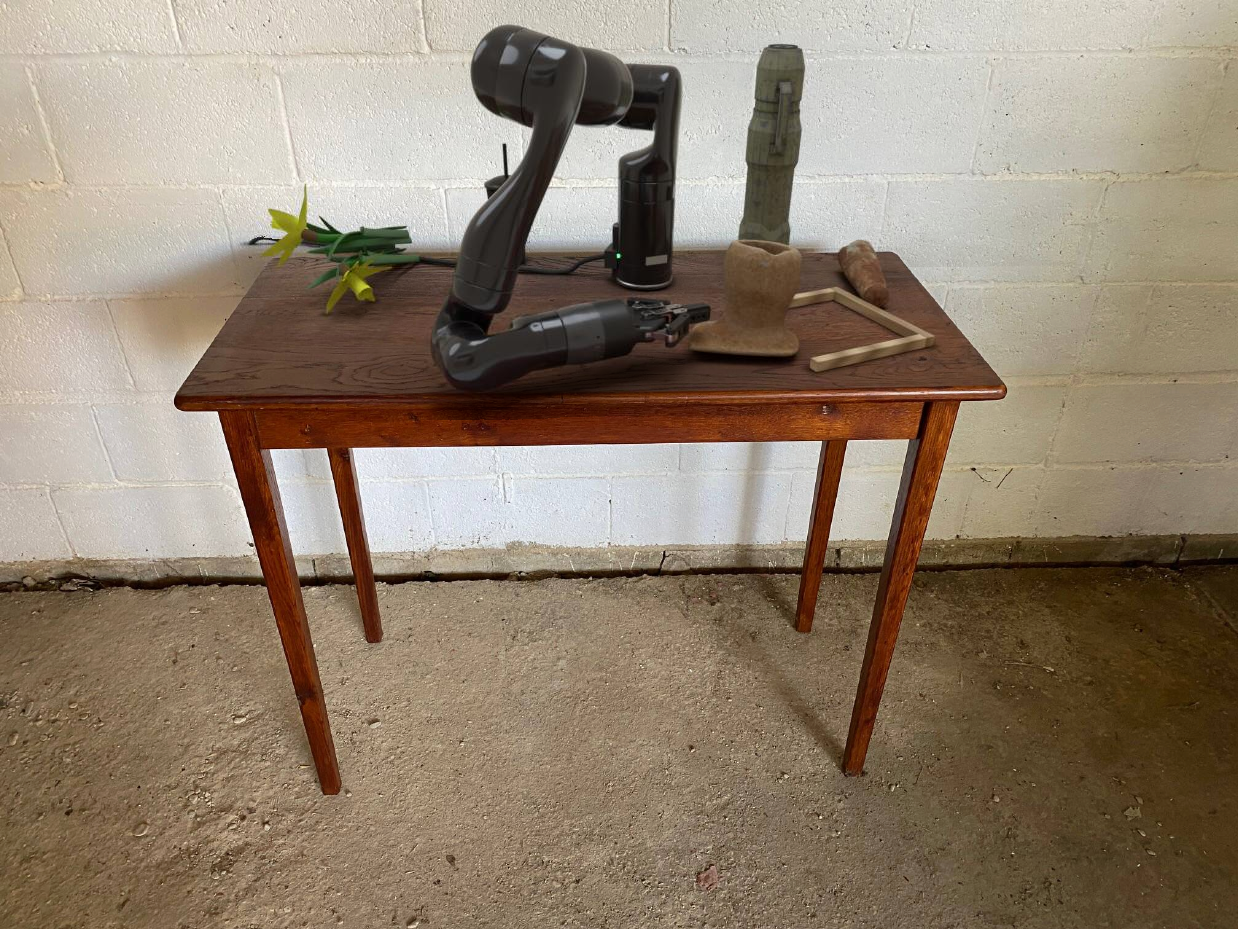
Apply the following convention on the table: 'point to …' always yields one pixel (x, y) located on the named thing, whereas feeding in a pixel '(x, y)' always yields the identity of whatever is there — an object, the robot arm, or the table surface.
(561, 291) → the table surface
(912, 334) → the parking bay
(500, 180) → the drinking cup
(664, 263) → the robot arm
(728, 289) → the stone cup
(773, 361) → the table surface
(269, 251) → the daffodil flowers
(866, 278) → the rusty brown cylinder
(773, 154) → the thermos
